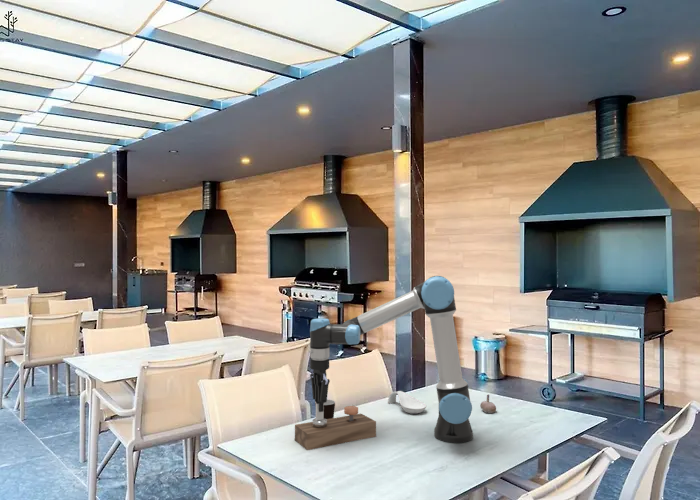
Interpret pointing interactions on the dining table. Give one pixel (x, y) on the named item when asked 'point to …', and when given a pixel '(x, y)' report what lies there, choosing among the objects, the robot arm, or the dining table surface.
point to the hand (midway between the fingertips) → (319, 419)
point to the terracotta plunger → (351, 411)
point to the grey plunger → (320, 423)
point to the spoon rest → (407, 402)
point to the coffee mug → (328, 409)
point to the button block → (335, 431)
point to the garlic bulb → (488, 406)
